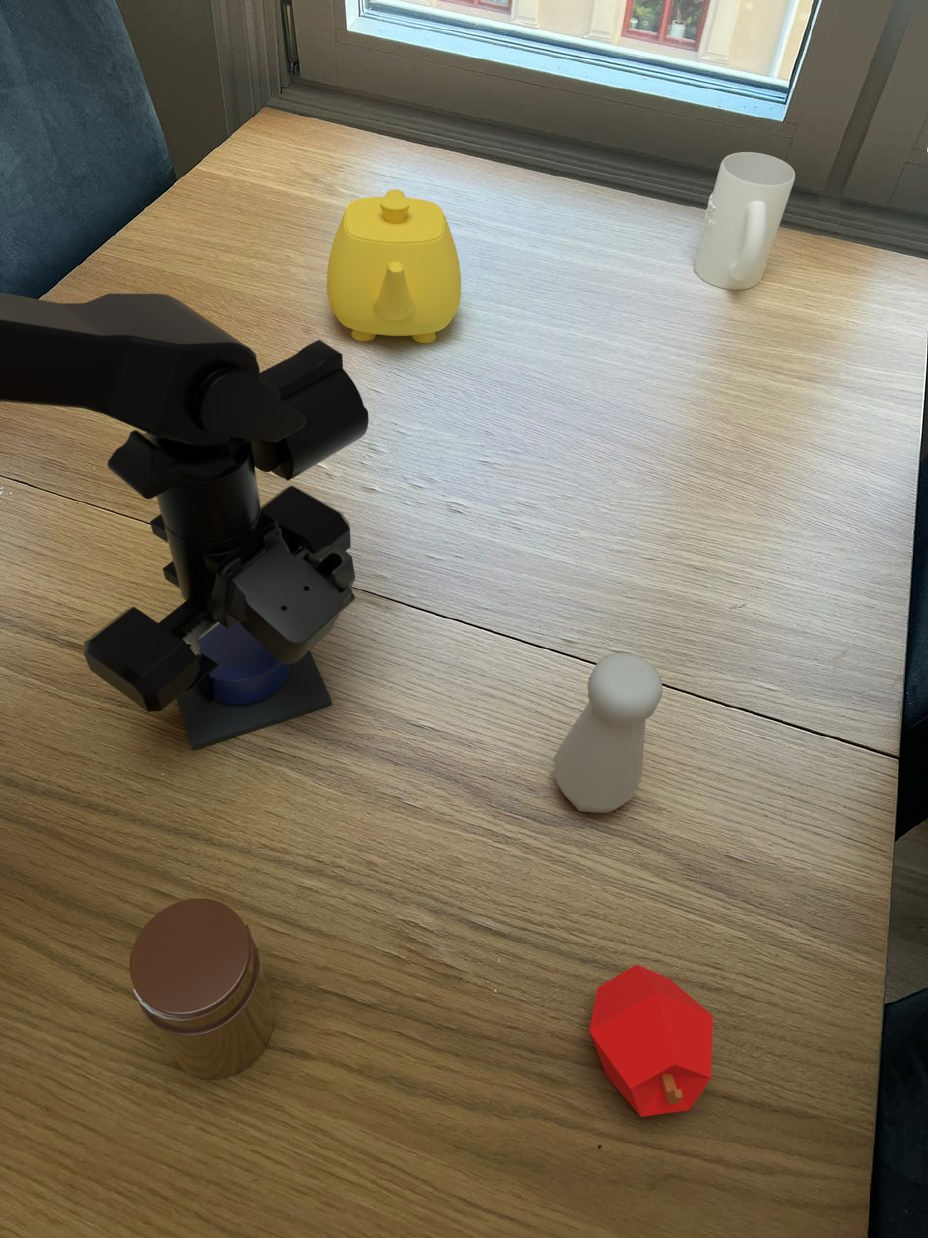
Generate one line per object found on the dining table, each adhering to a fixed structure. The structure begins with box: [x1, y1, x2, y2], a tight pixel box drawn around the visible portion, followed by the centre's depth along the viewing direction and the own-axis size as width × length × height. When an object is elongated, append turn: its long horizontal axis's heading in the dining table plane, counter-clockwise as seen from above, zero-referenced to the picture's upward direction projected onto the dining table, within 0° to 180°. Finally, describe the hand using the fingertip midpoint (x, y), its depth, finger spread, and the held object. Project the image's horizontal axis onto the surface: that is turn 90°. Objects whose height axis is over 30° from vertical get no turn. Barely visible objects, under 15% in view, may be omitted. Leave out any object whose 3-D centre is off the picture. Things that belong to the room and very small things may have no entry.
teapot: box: [326, 189, 462, 344], centre depth 93 cm, size 14×20×13 cm
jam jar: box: [129, 897, 275, 1080], centre depth 48 cm, size 6×6×10 cm
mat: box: [175, 649, 333, 751], centre depth 68 cm, size 10×10×1 cm
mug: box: [693, 151, 796, 291], centre depth 103 cm, size 8×12×12 cm
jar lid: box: [199, 621, 291, 704], centre depth 66 cm, size 7×7×3 cm
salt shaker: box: [553, 652, 663, 814], centre depth 59 cm, size 6×6×13 cm
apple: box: [588, 964, 714, 1118], centre depth 50 cm, size 7×7×8 cm
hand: (242, 666), depth 67 cm, fingers closed on jar lid, 7 cm apart
